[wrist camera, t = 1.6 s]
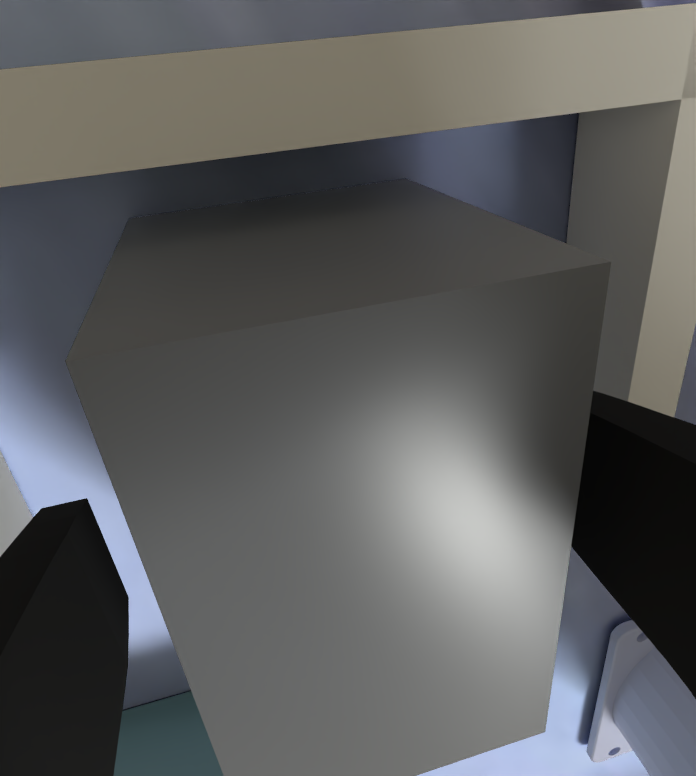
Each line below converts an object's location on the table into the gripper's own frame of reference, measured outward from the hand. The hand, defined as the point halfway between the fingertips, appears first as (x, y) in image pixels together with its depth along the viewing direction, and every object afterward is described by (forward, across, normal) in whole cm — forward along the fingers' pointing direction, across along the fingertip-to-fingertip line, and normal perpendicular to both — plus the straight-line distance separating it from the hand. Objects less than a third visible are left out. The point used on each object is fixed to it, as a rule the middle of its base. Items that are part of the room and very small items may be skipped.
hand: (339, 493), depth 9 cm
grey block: (+4, 0, 0) cm, 4 cm away
